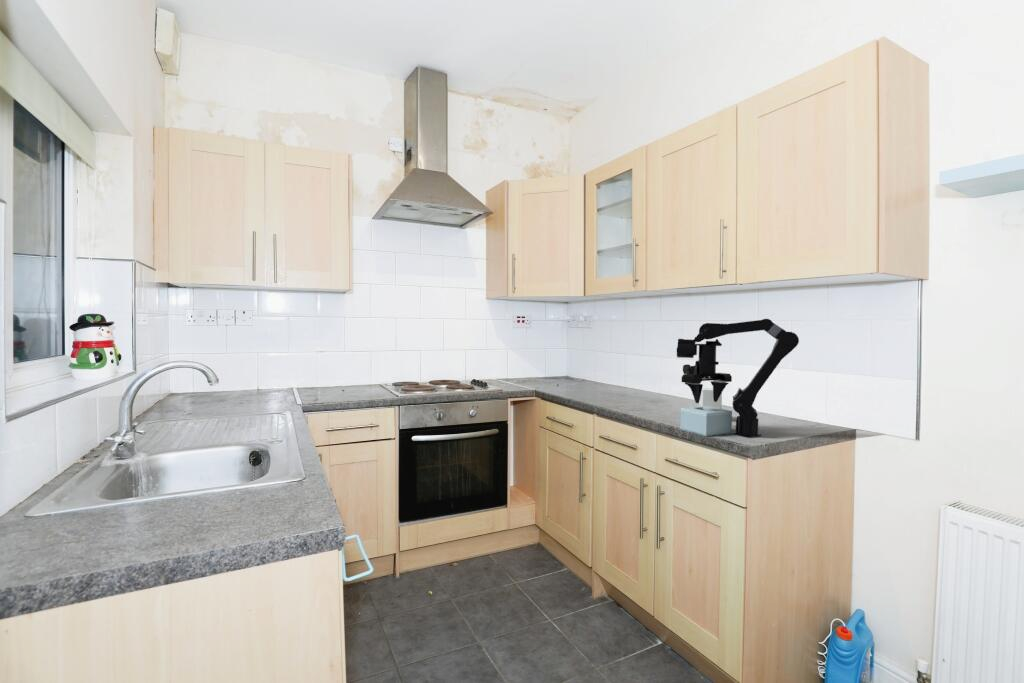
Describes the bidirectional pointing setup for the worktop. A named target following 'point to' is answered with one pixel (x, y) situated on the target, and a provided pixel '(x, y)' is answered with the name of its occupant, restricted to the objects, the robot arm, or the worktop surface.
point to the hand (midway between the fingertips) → (706, 402)
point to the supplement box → (709, 398)
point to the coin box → (706, 420)
